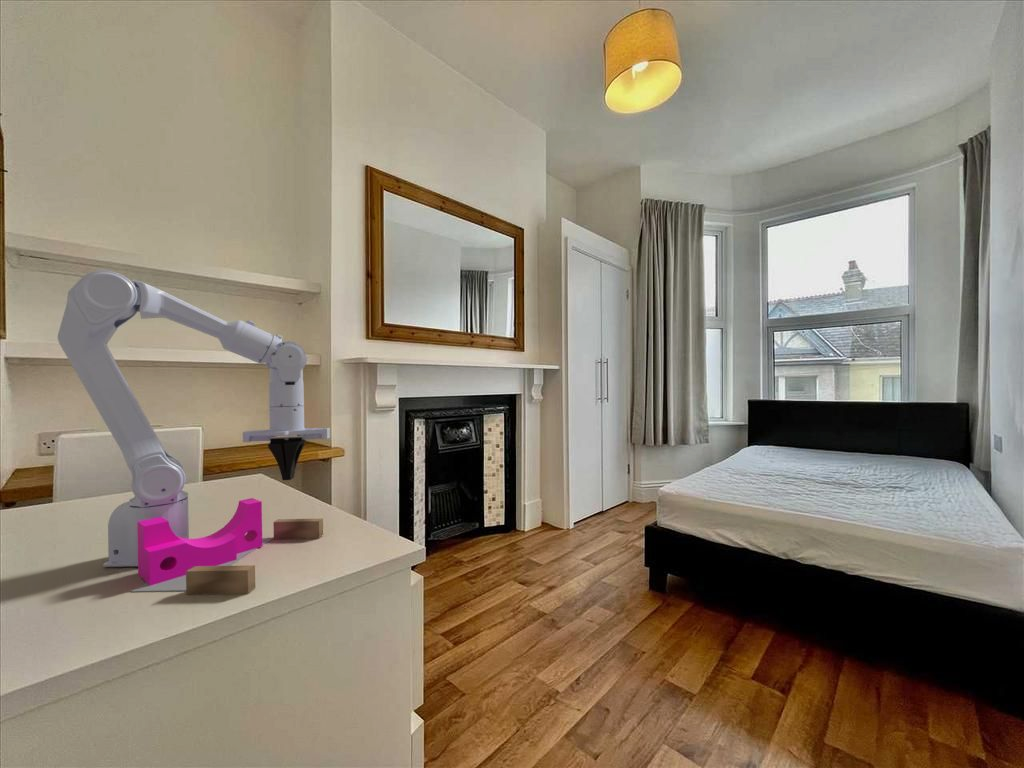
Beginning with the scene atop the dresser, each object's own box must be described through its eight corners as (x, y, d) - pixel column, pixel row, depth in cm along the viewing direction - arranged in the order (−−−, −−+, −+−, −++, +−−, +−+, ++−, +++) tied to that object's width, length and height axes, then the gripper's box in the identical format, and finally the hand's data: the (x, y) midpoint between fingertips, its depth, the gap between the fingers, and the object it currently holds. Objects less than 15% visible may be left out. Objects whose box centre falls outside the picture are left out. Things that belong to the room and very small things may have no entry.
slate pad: (131, 595, 55) (130, 591, 55) (229, 541, 74) (229, 538, 74) (190, 594, 55) (190, 590, 55) (273, 540, 74) (273, 537, 74)
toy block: (149, 585, 56) (148, 530, 56) (138, 573, 60) (137, 521, 60) (269, 549, 68) (268, 503, 68) (253, 541, 72) (252, 498, 72)
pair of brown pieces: (186, 594, 54) (185, 571, 54) (278, 536, 75) (278, 519, 75) (248, 593, 54) (247, 570, 54) (323, 535, 75) (322, 518, 75)
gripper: (234, 408, 73) (235, 486, 73) (322, 406, 76) (323, 481, 76) (251, 406, 80) (253, 477, 80) (332, 404, 83) (333, 473, 83)
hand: (288, 479), depth 79 cm, fingers closed
